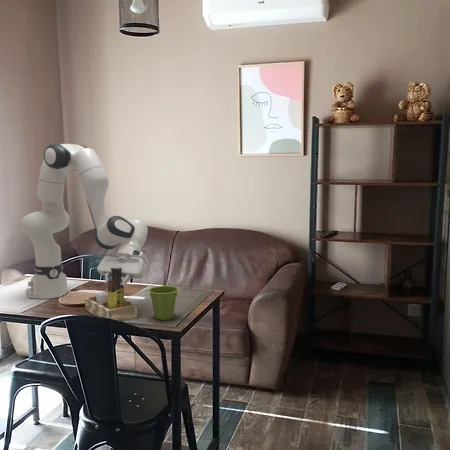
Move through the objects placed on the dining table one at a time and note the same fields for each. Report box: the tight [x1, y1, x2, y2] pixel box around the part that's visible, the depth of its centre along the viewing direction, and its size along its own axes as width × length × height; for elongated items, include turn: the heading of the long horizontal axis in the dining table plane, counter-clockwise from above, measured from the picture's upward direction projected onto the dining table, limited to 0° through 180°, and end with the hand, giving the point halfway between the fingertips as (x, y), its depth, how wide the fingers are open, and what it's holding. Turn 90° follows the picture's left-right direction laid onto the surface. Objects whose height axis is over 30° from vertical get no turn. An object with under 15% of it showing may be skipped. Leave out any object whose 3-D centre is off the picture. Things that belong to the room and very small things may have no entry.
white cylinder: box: [95, 291, 108, 303], centre depth 206 cm, size 7×7×7 cm
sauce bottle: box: [107, 266, 125, 310], centre depth 197 cm, size 6×6×20 cm
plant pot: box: [147, 285, 180, 321], centre depth 197 cm, size 12×12×11 cm
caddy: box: [84, 295, 138, 322], centre depth 202 cm, size 22×12×5 cm, turn 39°
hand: (114, 284), depth 196 cm, fingers closed on sauce bottle, 6 cm apart
